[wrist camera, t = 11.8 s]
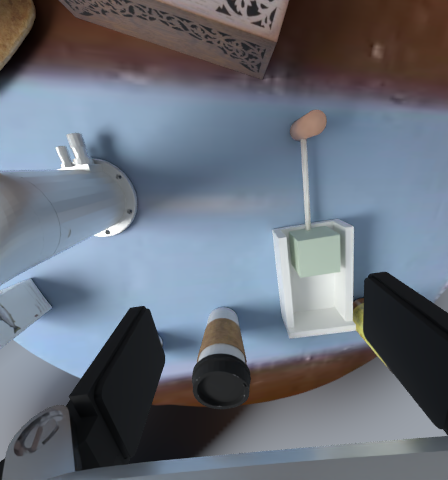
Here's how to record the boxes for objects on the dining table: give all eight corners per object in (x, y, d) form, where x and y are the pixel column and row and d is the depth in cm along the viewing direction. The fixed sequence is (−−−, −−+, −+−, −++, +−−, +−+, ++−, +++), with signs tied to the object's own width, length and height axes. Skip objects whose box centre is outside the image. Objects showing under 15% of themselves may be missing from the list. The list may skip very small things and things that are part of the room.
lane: (272, 229, 37) (279, 240, 32) (337, 218, 37) (357, 228, 31) (281, 315, 43) (289, 338, 37) (338, 308, 42) (355, 330, 37)
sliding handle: (278, 123, 32) (289, 115, 26) (319, 115, 32) (340, 104, 26) (290, 262, 39) (300, 278, 33) (324, 256, 39) (341, 272, 33)
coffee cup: (251, 327, 44) (262, 403, 30) (214, 341, 46) (208, 421, 31) (232, 294, 42) (235, 361, 28) (194, 311, 43) (177, 382, 29)
